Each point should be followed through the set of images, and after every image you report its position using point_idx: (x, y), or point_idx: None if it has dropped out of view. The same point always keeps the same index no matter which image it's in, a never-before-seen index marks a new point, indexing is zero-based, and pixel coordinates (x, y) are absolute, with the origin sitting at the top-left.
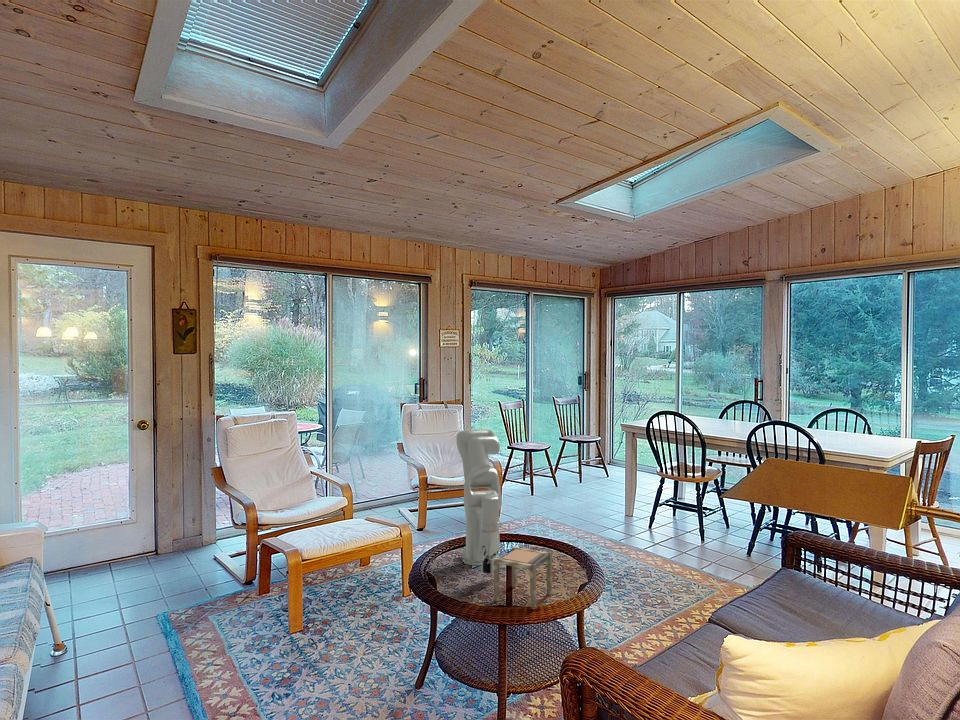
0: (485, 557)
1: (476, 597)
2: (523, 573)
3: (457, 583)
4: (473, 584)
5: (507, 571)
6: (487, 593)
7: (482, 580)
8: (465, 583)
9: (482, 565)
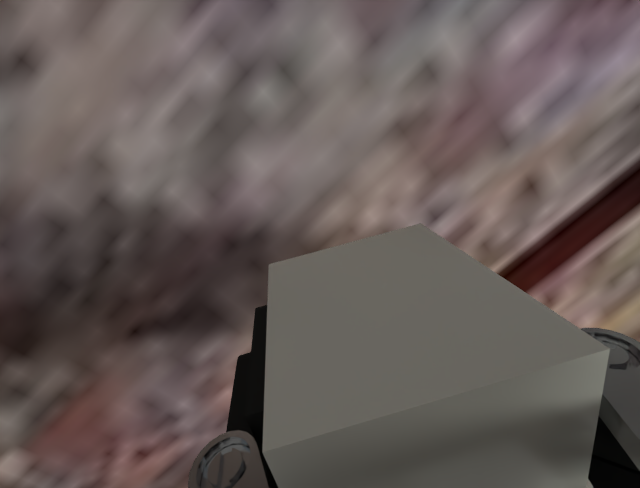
0: (353, 480)
1: (16, 415)
2: (599, 314)
3: (33, 42)
4: (174, 204)
5: (591, 208)
6: (146, 408)
7: (309, 196)
8: (120, 121)
9: (270, 330)
